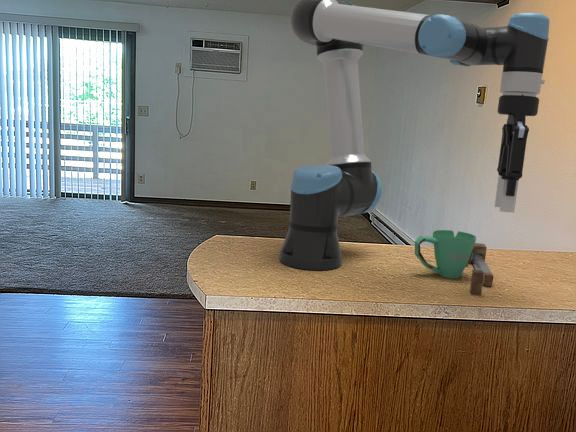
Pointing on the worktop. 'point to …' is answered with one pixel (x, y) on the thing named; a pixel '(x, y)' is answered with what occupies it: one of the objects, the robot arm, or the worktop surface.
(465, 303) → the worktop surface
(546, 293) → the worktop surface
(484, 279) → the tie bar
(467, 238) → the mug
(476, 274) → the brown blocks
